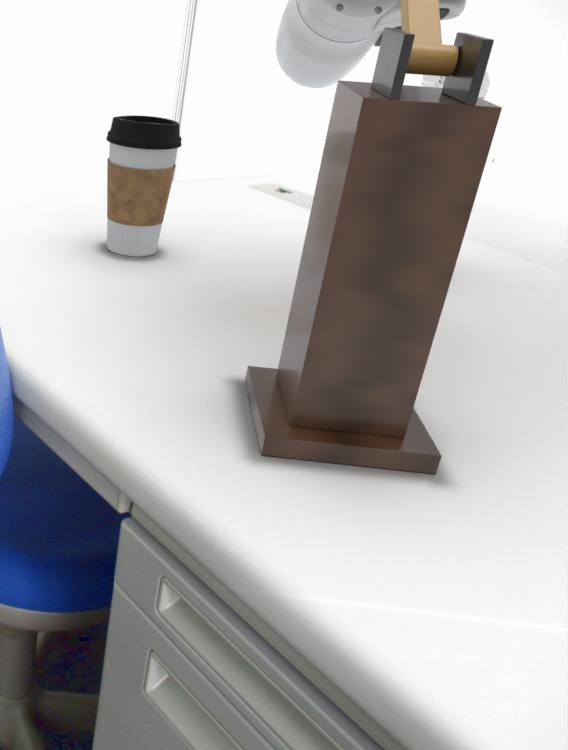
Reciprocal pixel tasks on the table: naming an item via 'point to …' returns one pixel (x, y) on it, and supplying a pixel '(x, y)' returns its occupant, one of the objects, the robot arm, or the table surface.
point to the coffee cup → (139, 181)
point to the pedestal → (377, 264)
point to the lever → (427, 39)
